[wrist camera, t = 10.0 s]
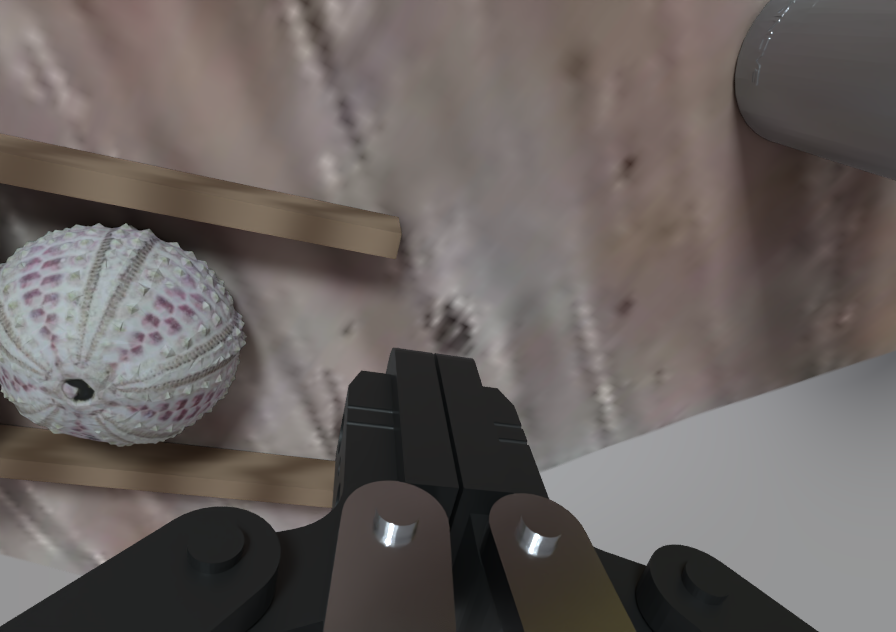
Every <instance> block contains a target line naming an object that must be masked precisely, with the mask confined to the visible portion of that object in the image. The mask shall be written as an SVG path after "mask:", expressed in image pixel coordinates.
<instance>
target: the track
mask: <svg viewBox="0 0 896 632" xmlns="http://www.w3.org/2000/svg"><path fill="white" fill-rule="evenodd" d="M0 183H3V184H8V185H13V186H19V187H24V188H29V189H34V190H39V191H44V192H50V193H55V194H60V195H65V196H70V197H76V198H81V199H86V200H91V201H96V202H101V203H107V204H112V205H117V206H122V207H127V208H133V209H138V210H143V211H148V212H153V213H158V214H164V215H169V216H174V217H179V218H184V219H190V220H195V221H200V222H205V223H210V224H215V225H221V226H226V227H231V228H236V229H241V230H247V231H252V232H257V233H262V234H267V235H272V236H278V237H283V238H288V239H293V240H298V241H304V242H309V243H314V244H319V245H324V246H329V247H335V248H340V249H345V250H350V251H355V252H361V253H366V254H371V255H376V256H381V257H386V258H392V259H396V256H397V252H398V248H399V244H400V239H401V235H402V233H401V228H400V223H399V218H398V217H395V216H390V215H385V214H381V213H376V212H371V211H366V210H362V209H357V208H352V207H347V206H343V205H338V204H333V203H328V202H324V201H319V200H314V199H309V198H305V197H300V196H295V195H290V194H285V193H281V192H276V191H271V190H266V189H262V188H257V187H252V186H247V185H243V184H238V183H233V182H228V181H224V180H219V179H214V178H209V177H205V176H200V175H195V174H190V173H185V172H181V171H176V170H171V169H166V168H162V167H157V166H152V165H147V164H143V163H138V162H133V161H128V160H124V159H119V158H114V157H109V156H105V155H100V154H95V153H90V152H86V151H81V150H76V149H71V148H66V147H62V146H57V145H52V144H47V143H43V142H38V141H33V140H28V139H24V138H19V137H14V136H9V135H5V134H0ZM334 474H335V461H329V460H320V459H311V458H302V457H293V456H284V455H275V454H265V453H256V452H247V451H238V450H229V449H220V448H211V447H202V446H193V445H183V444H174V443H165V442H157V443H156V444H154V443H147V444H143V443H141V444H133V445H131V446H126V445H125V446H123V447H118V446H117V445H116V444H113V445H110V444H109V443H108V442H101V441H95V440H91V439H85V438H79V437H75V436H71V435H68V434H54V433H52V432H51V431H50V430H47V429H38V428H28V427H19V426H10V425H1V424H0V478H9V479H20V480H31V481H42V482H53V483H64V484H75V485H86V486H97V487H108V488H119V489H130V490H141V491H152V492H163V493H174V494H185V495H196V496H206V497H217V498H228V499H239V500H250V501H261V502H272V503H283V504H294V505H305V506H316V507H327V508H332V501H333V487H334V477H335V475H334Z"/></svg>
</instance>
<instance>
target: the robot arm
mask: <svg viewBox="0 0 896 632" xmlns="http://www.w3.org/2000/svg"><path fill="white" fill-rule="evenodd" d="M735 93H736V98H737V102H738V106H739V110H740V112H741V114H742V116H743V118H744V119H745V121H746V123H747V124H748V125H749V126H750V127H751V128H752V130H753V131H754V132H755V133H756V134H758V135H760V136H762V137H763V138H765V139H767V140H769V141H772V142H775V143H778V144H781V145H785V146H788V147H791V148H794V149H797V150H800V151H804V152H807V153H810V154H813V155H815V156H818V157H821V158H825V159H828V160H831V161H834V162H838V163H841V164H844V165H847V166H850V167H854V168H857V169H860V170H863V171H866V172H870V173H873V174H876V175H879V176H882V177H886V178H889V179H892V180H895V181H896V0H770V1H769V2H768V3H767V4H766V6H765V7H764V8H763V10H762V11H761V12H760V14H759V15H758V16H757V18H756V19H755V20H754V22H753V24H752V26H751V27H750V29H749V31H748V33H747V35H746V37H745V39H744V41H743V44H742V47H741V50H740V53H739V56H738V60H737V67H736V73H735ZM334 475H335V477H334V487H333V501H332V511H331V512H330V513H329V514H327V515H326V516H325V517H323V518H322V519H320V520H318V521H316V522H315V523H312V524H309V525H307V526H304V527H300V528H296V529H291V530H286V531H281V532H275V531H274V529H273V528H272V527H271V525H270V524H269V523H268V522H266V521H265V520H264V519H263V518H261V517H260V516H258V515H256V514H254V513H252V512H249V511H247V510H243V509H239V508H234V507H209V508H203V509H199V510H195V511H192V512H189V513H187V514H184V515H182V516H180V517H178V518H176V519H174V520H173V521H171V522H169V523H168V524H166V525H164V526H163V527H161V528H160V529H158V530H156V531H155V532H153V533H151V534H150V535H148V536H147V537H145V538H143V539H142V540H140V541H138V542H137V543H135V544H134V545H132V546H130V547H129V548H127V549H125V550H124V551H122V552H121V553H119V554H117V555H116V556H114V557H112V558H111V559H109V560H108V561H106V562H104V563H103V564H101V565H99V566H98V567H96V568H95V569H93V570H91V571H90V572H88V573H86V574H85V575H83V576H82V577H80V578H78V579H77V580H75V581H74V582H72V583H70V584H69V585H67V586H65V587H64V588H62V589H60V590H59V591H57V592H56V593H54V594H52V595H51V596H49V597H47V598H46V599H44V600H43V601H41V602H39V603H38V604H36V605H34V606H33V607H31V608H30V609H28V610H26V611H25V612H23V613H22V614H20V615H18V616H17V617H15V618H13V619H12V620H10V621H8V622H7V623H5V624H4V625H2V626H1V627H0V632H818V631H816V630H815V629H814V628H812V627H811V626H810V625H808V624H807V623H805V622H804V621H803V620H801V619H800V618H798V617H797V616H796V615H794V614H793V613H792V612H790V611H789V610H787V609H786V608H784V607H783V606H782V605H780V604H779V603H778V602H776V601H775V600H773V599H772V598H771V597H769V596H768V595H766V594H765V593H763V592H762V591H761V590H759V589H758V588H757V587H755V586H754V585H752V584H751V583H750V582H748V581H747V580H745V579H744V578H742V577H741V576H740V575H738V574H737V573H736V572H734V571H733V570H731V569H730V568H729V567H727V566H726V565H724V564H723V563H722V562H720V561H718V560H717V559H716V558H714V557H712V556H710V555H709V554H707V553H705V552H702V551H700V550H698V549H695V548H691V547H688V546H683V545H666V546H663V547H661V548H659V549H657V550H656V551H655V552H654V553H653V555H652V556H651V558H650V560H649V562H648V564H647V566H645V565H642V564H639V563H636V562H634V561H631V560H628V559H625V558H622V557H619V556H616V555H613V554H611V553H607V552H605V551H602V550H600V549H597V548H595V547H593V546H592V543H591V541H590V539H589V538H588V535H587V533H586V532H585V530H584V528H583V527H582V525H581V524H580V522H579V521H578V520H577V519H576V518H575V517H574V516H573V515H572V514H571V513H570V512H569V511H568V510H566V509H565V508H564V507H562V506H561V505H559V504H557V503H556V502H554V501H552V500H549V498H548V495H547V492H546V489H545V487H544V484H543V482H542V479H541V476H540V473H539V471H538V468H537V465H536V463H535V460H534V457H533V455H532V452H531V449H530V447H529V445H527V439H526V436H525V433H524V431H523V429H521V423H520V420H519V417H518V415H517V412H516V409H515V407H514V405H513V404H512V403H511V402H510V401H509V400H508V399H507V398H506V397H505V396H504V395H503V394H502V393H501V392H500V391H499V389H498V388H491V387H483V386H482V383H481V380H480V377H479V373H478V370H477V367H476V364H475V361H474V359H472V358H465V357H458V356H451V355H443V354H436V353H435V354H433V353H428V352H421V351H414V350H407V349H400V348H393V349H392V351H391V353H390V357H389V361H388V366H387V371H386V374H383V373H376V372H368V371H361V372H360V373H359V374H358V375H357V376H356V378H355V379H354V380H353V381H352V382H351V383H350V385H349V387H348V392H347V398H346V403H345V408H344V414H343V419H342V424H341V429H340V435H339V440H338V445H337V451H336V460H335V474H334Z"/></svg>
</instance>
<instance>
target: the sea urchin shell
mask: <svg viewBox="0 0 896 632" xmlns="http://www.w3.org/2000/svg"><path fill="white" fill-rule="evenodd" d="M242 317H243V316H242V315H240V314H239V313H238V312H236V310H234V307H233V299H232V297H231V296H230V292H229V291H227V290H226V289H225V287H224V281H222V280H220V279H219V278H217V277H216V274H215V271H212V270H211V269H210V268H208V266H207V263H206V261H201V260H197V258H196V257H195V255H194V253H193V252H192V251H184V250H182V249H181V248H180V246H179V245H178V243H177V242H173V243H167V242H164V241H162V240H160V239H159V238H157V237H156V235H155V234H154V233H152V231H151V230H150V229H147V230H142V231H139V230H137V229H136V228H134V227H133V226H132V225H129V226H128V225H127V224H126V223H125V224H124V225H122V226H121V227H117V228H107V227H104V226H103V225H101V224H100V223H98V224H96V225H94V226H92V227H91V226H81V225H75V226H74V227H72V228H71V229H70V228H65V229H64V230H63V231H60V230H54V232H49V231H48V233H47V234H46V235H45V236H44V237H40V238H39V239H38V240H36V241H30V242H27V243H26V244H25V245H24V247H23V248H17V250H16V252H15V253H14V255H13V256H11V257H9V258H8V260H7V263H2V264H0V384H1V386H2V387H1V392H3V393H4V398H7V399H9V401H11V402H12V403H14V404H15V406H16V408H17V410H18V411H19V413H20V414H21V415H22V416H24V417H26V418H28V419H29V420H31V421H32V422H33V423H35V424H37V425H39V426H44V427H47V428H48V429H49V430H50V431H51V432H52V433H54V434H68V435H71V436H75V437H79V438H85V439H91V440H95V441H101V442H108V443H109V444H110V445H113V444H116V445H117V446H118V447H123V446H125V445H126V446H131V445H133V444H141V443H143V444H147V443H154V444H156V443H157V442H159V441H162V442H164V441H165V439H168V438H174V437H175V436H176V435H177V434H181V432H182V431H183V430H184V428H185V427H186V426H192V425H194V424H195V422H196V420H198V419H201V418H202V416H203V415H204V413H207V412H212V408H213V406H215V405H216V403H217V401H218V400H221V399H223V398H225V396H224V395H225V394H228V388H229V387H230V385H231V382H232V381H233V380H235V373H236V371H237V367H236V366H237V365H238V364H239V363H240V360H239V357H238V356H239V354H240V353H239V351H240V349H241V348H242V347H243V346H244V345H245V344H246V342H245V340H244V339H245V338H246V337H247V336H246V335H245V333H244V332H243V331H242V328H243V326H244V324H245V323H244V322H243V321H241V320H242Z"/></svg>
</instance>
